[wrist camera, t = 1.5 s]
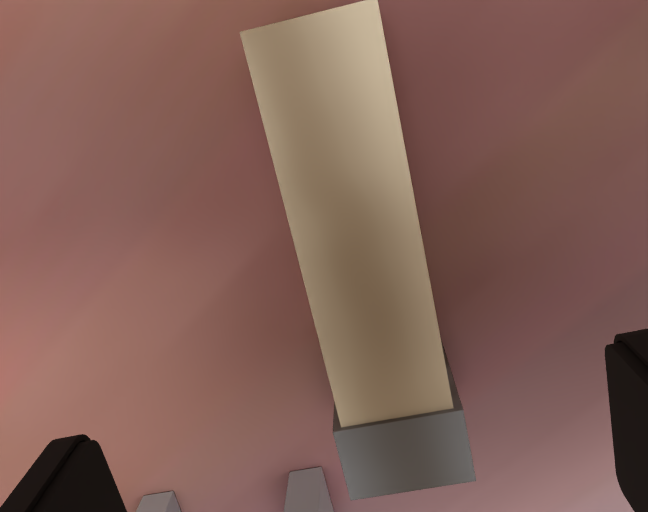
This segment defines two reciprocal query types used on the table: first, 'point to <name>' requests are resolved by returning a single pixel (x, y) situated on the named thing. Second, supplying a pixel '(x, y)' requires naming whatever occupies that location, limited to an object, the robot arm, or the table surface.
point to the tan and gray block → (360, 247)
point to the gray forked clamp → (300, 505)
